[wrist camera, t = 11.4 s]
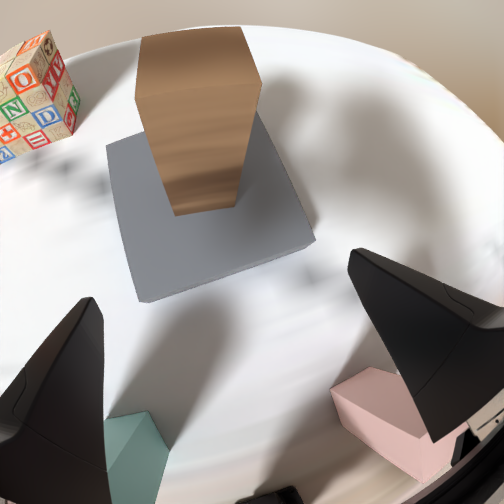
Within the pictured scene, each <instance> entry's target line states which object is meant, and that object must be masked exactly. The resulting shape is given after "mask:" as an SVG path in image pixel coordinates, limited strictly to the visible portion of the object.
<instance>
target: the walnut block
mask: <svg viewBox="0 0 504 504" xmlns="http://www.w3.org/2000/svg"><path fill="white" fill-rule="evenodd" d="M261 87H262V82H261V79H260V76H259V73H258V71H257V68H256V65H255V63H254V60H253V57H252V55H251V52H250V49H249V47H248V44H247V42H246V39H245V37H244V34H243V32H242V29H241V27H214V28H201V29H190V30H182V31H174V32H168V33H162V34H156V35H151V36H145V37H142V40H141V47H140V53H139V61H138V69H137V78H136V88H135V102H136V105H137V108H138V112H139V115H140V118H141V121H142V124H143V128H144V131H145V134H146V137H147V140H148V143H149V146H150V149H151V152H152V155H153V158H154V160H155V163H156V166H157V169H158V172H159V175H160V177H161V180H162V183H163V186H164V188H165V191H166V194H167V196H168V199H169V202H170V204H171V207H172V210H173V212H174V215H175V217H176V216H182V215H187V214H193V213H199V212H205V211H212V210H218V209H225V208H231V207H234V206H235V201H236V196H237V191H238V187H239V182H240V178H241V173H242V168H243V164H244V159H245V155H246V150H247V146H248V142H249V137H250V133H251V128H252V124H253V120H254V116H255V111H256V107H257V103H258V99H259V95H260V91H261Z"/></svg>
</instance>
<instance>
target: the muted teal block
mask: <svg viewBox="0 0 504 504" xmlns="http://www.w3.org/2000/svg"><path fill="white" fill-rule="evenodd" d="M104 441H105V454H106V465H107V472H108V480H109V487H110V493H111V499H112V504H155V501H156V498H157V494H158V490H159V487H160V483H161V480H162V476H163V473H164V469H165V466H166V462H167V459H168V456H169V452H170V451H169V449H168V448H167V446H166V444H165V442H164V441H163V439H162V437H161V435H160V433H159V431H158V430H157V428H156V426H155V424H154V422H153V420H152V418H151V416H150V414H149V412H148V411H144V412H139V413H135V414H130V415H125V416H120V417H115V418H109V419H106V420H105V421H104Z"/></svg>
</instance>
